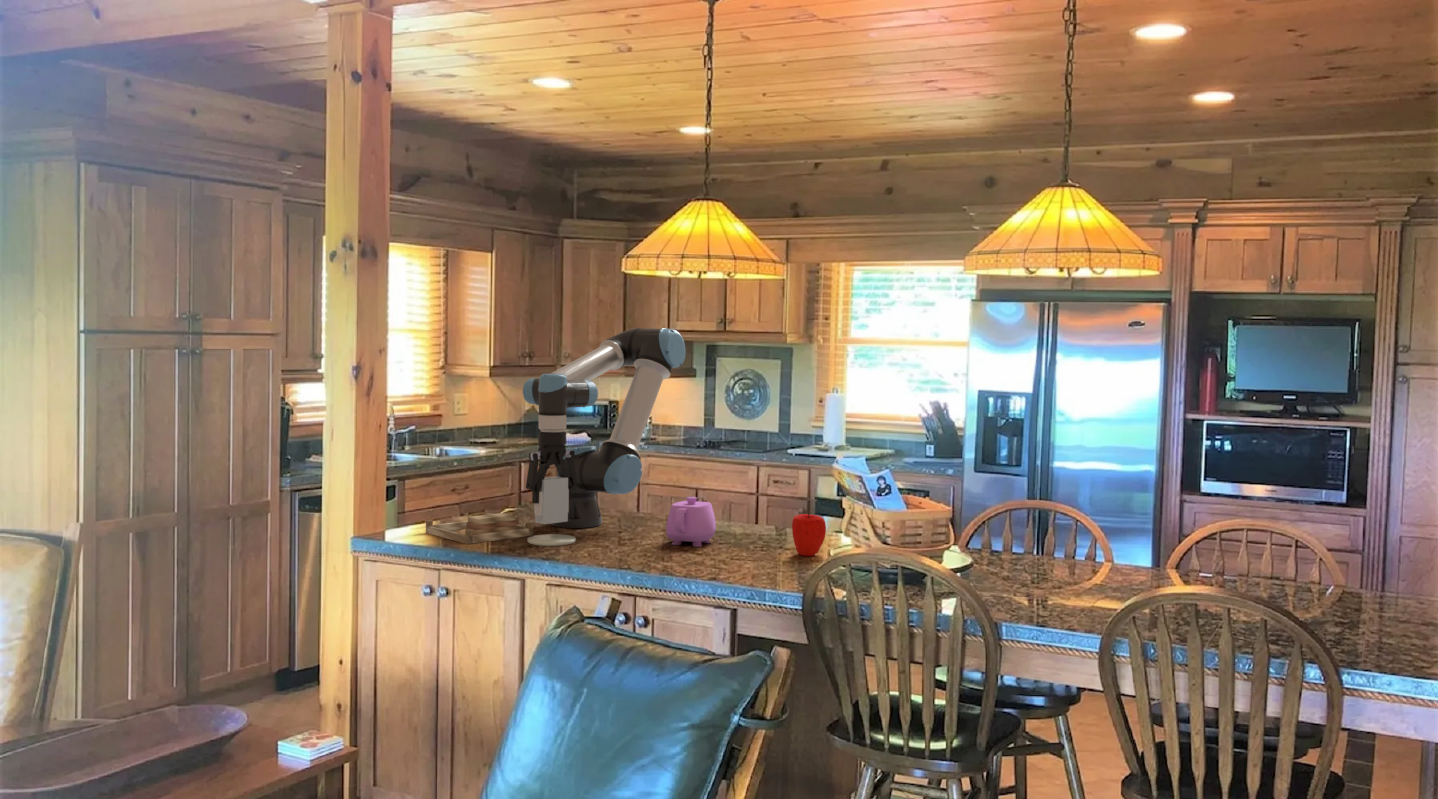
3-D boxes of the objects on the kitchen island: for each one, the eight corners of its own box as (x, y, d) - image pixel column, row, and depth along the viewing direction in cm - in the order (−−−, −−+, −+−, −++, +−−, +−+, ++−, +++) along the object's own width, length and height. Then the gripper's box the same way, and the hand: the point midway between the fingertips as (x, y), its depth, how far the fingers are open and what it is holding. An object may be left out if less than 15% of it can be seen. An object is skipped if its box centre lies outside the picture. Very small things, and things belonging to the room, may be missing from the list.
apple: (832, 555, 301) (832, 514, 300) (809, 559, 295) (810, 517, 294) (806, 550, 307) (807, 510, 306) (784, 554, 301) (785, 513, 300)
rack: (489, 524, 339) (489, 513, 339) (532, 535, 323) (532, 522, 323) (425, 532, 325) (425, 520, 324) (467, 544, 309) (467, 531, 309)
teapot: (699, 551, 304) (700, 503, 303) (656, 547, 308) (656, 500, 307) (724, 538, 323) (725, 493, 322) (683, 535, 327) (684, 491, 326)
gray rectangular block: (558, 519, 318) (559, 476, 318) (567, 521, 315) (568, 477, 315) (535, 522, 313) (535, 478, 312) (543, 524, 310) (544, 480, 309)
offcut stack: (509, 533, 326) (509, 512, 326) (519, 535, 323) (519, 514, 322) (465, 538, 316) (465, 517, 316) (475, 541, 313) (475, 519, 312)
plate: (556, 535, 324) (556, 532, 324) (585, 541, 314) (585, 539, 314) (518, 540, 315) (518, 537, 315) (546, 547, 305) (546, 544, 305)
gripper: (574, 428, 323) (573, 508, 324) (512, 431, 308) (511, 515, 309) (591, 429, 317) (590, 511, 319) (528, 433, 303) (527, 519, 304)
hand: (551, 513), depth 314 cm, fingers closed on gray rectangular block, 8 cm apart
